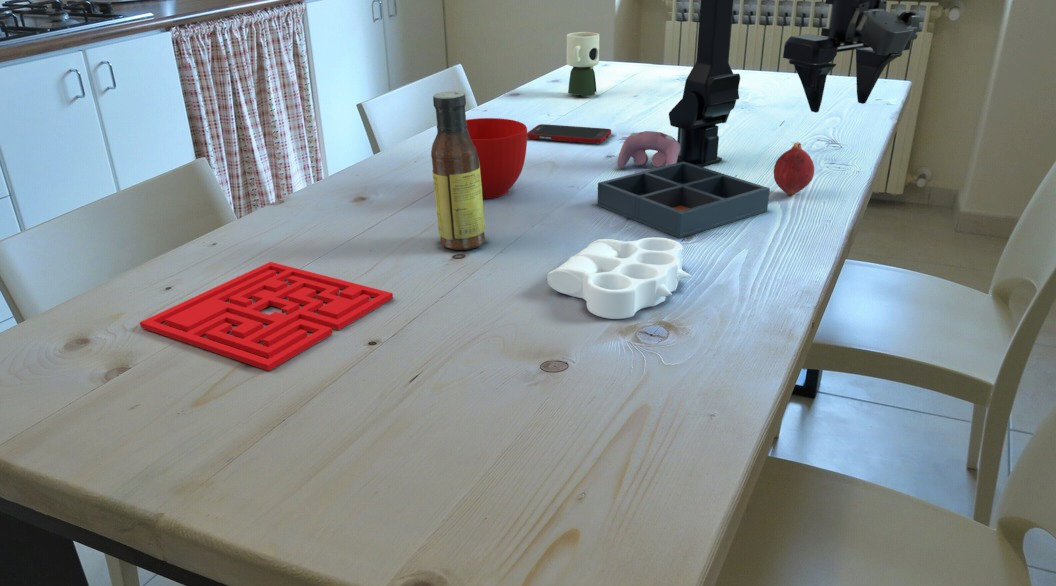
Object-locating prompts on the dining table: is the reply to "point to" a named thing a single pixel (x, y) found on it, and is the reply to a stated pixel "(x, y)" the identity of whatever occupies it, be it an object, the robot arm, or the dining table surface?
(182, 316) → the maze puzzle
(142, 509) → the dining table surface
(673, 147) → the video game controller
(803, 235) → the dining table surface
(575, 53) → the character mug
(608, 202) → the grid
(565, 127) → the cell phone
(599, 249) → the white brass knuckles
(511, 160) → the ceramic cup
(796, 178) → the onion
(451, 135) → the sauce bottle
